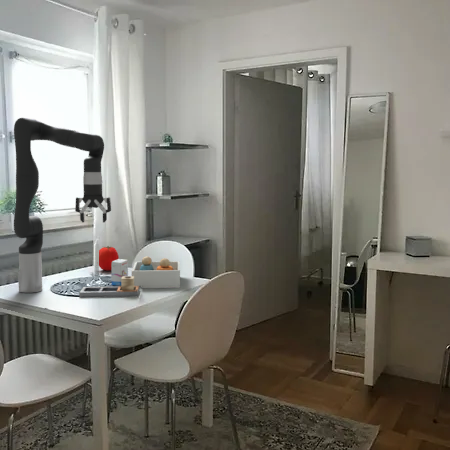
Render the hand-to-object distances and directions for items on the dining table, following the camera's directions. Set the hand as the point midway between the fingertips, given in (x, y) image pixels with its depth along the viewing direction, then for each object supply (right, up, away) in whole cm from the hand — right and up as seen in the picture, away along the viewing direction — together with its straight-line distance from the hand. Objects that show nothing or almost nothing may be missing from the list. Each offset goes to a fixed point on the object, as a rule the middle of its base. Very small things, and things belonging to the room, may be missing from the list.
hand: (93, 222), depth 212 cm
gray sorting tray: (+6, -32, +6) cm, 33 cm away
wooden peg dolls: (+23, -29, +36) cm, 51 cm away
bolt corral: (+22, -29, +33) cm, 49 cm away
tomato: (-8, -26, +60) cm, 66 cm away
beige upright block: (+13, -31, +7) cm, 34 cm away
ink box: (+6, -30, +26) cm, 40 cm away
